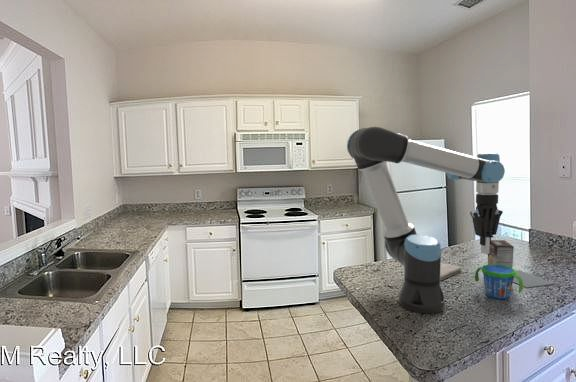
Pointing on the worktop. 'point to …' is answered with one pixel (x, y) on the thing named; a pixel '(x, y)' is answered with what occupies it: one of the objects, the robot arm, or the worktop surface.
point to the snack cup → (498, 280)
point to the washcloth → (448, 270)
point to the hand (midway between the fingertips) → (485, 252)
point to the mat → (530, 280)
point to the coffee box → (500, 253)
